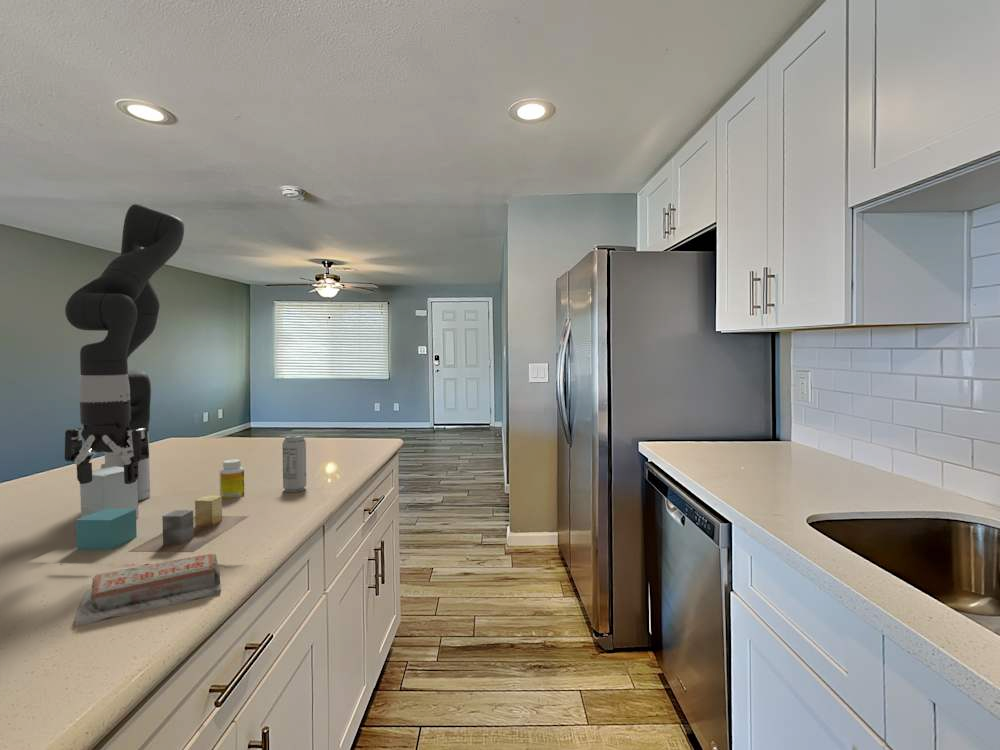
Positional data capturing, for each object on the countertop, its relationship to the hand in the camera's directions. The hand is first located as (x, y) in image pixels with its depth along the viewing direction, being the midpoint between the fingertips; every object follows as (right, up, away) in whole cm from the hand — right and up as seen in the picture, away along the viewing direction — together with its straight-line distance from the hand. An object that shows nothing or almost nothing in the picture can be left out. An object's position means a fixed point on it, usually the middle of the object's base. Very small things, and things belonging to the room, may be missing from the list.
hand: (108, 483), depth 95 cm
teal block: (0, -13, 0) cm, 13 cm away
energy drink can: (+18, -12, +43) cm, 48 cm away
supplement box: (-9, -13, +13) cm, 20 cm away
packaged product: (+21, -15, -17) cm, 30 cm away
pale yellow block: (+13, -11, +11) cm, 20 cm away
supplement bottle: (+6, -12, +33) cm, 36 cm away
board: (+13, -13, +6) cm, 19 cm away
